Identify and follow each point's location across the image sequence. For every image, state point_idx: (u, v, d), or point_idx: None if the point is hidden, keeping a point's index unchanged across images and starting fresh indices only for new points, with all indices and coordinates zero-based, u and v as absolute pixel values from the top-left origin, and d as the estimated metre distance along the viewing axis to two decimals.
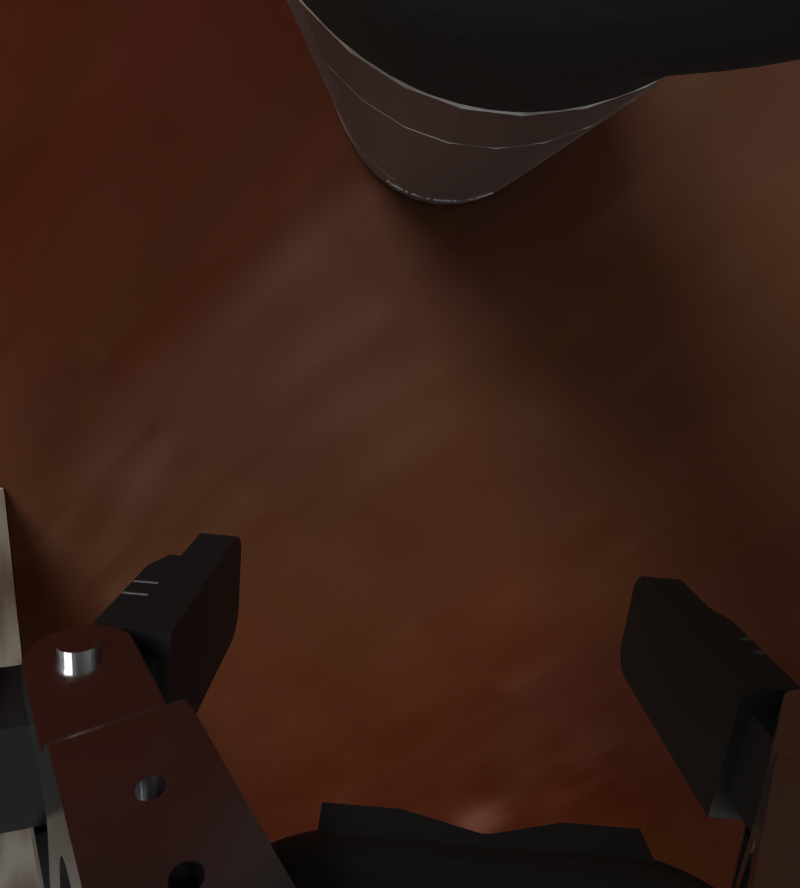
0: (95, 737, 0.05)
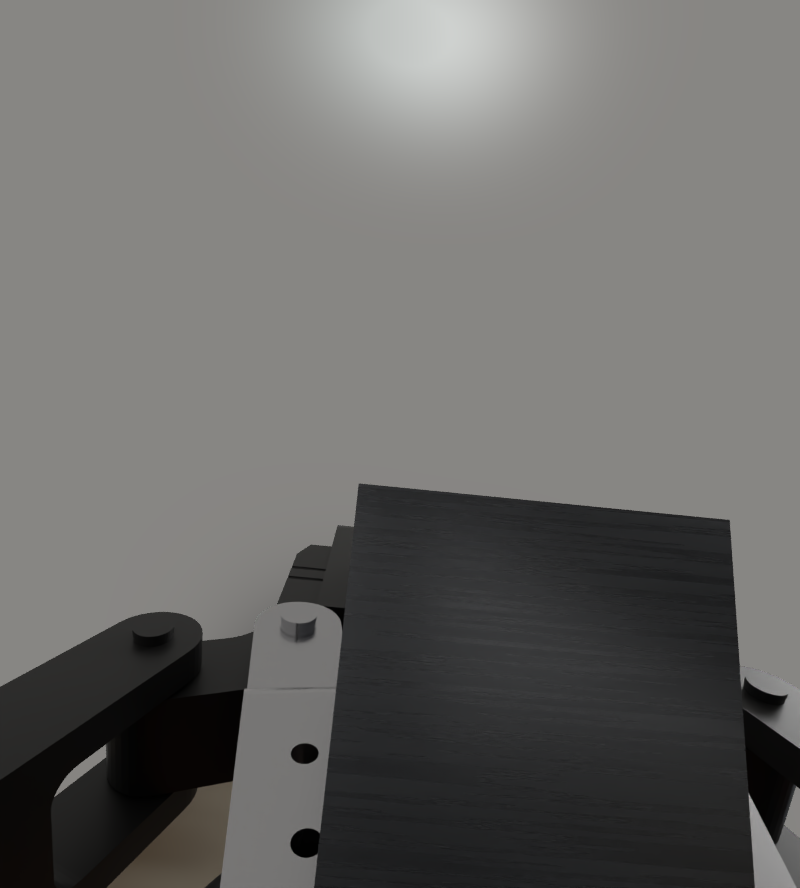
0: (279, 696, 0.06)
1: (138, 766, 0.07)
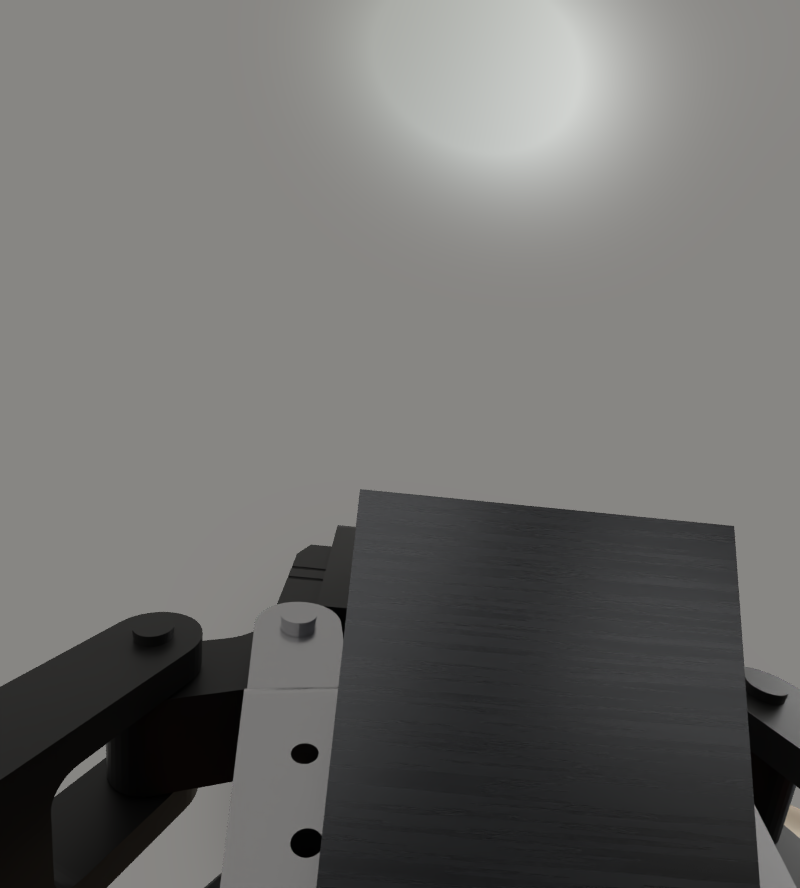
0: (279, 696, 0.06)
1: (138, 766, 0.07)
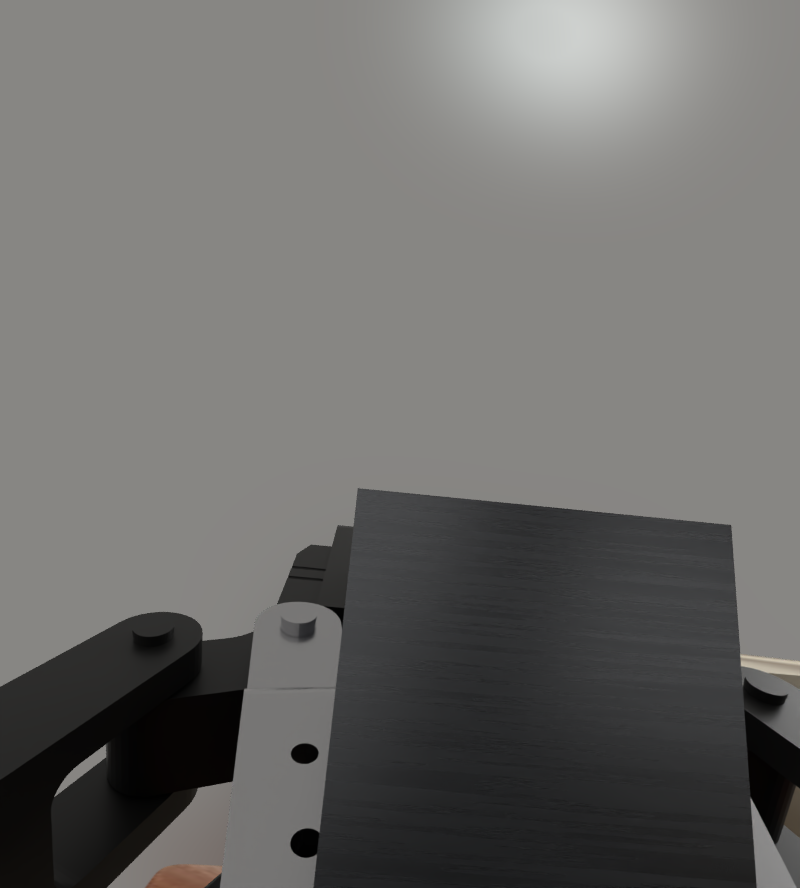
0: (280, 696, 0.06)
1: (138, 766, 0.07)
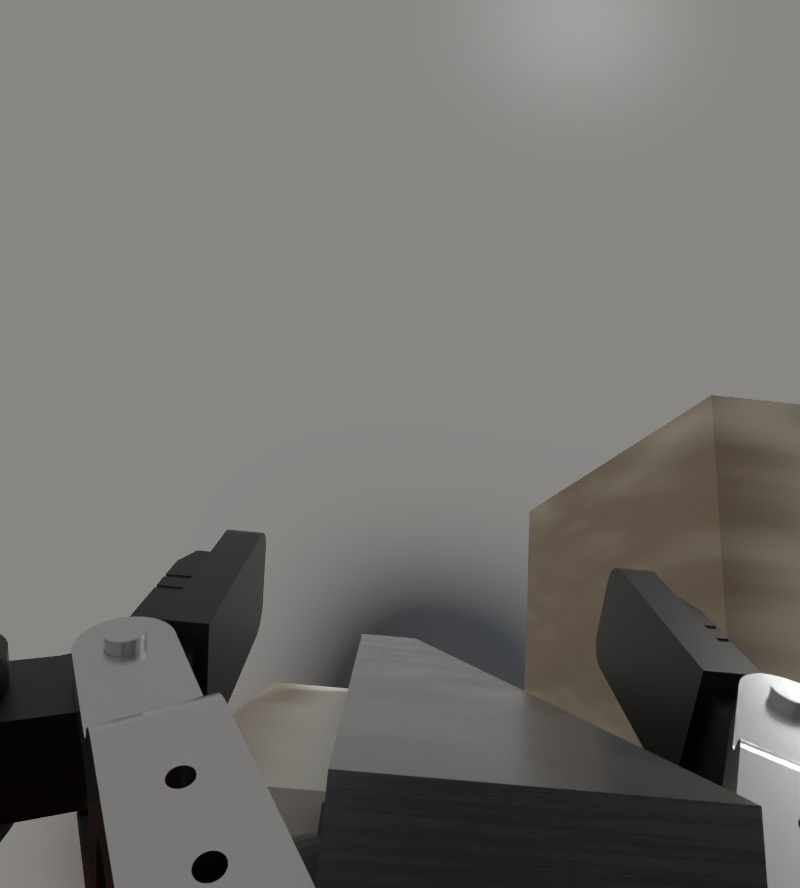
0: (133, 724, 0.06)
1: None
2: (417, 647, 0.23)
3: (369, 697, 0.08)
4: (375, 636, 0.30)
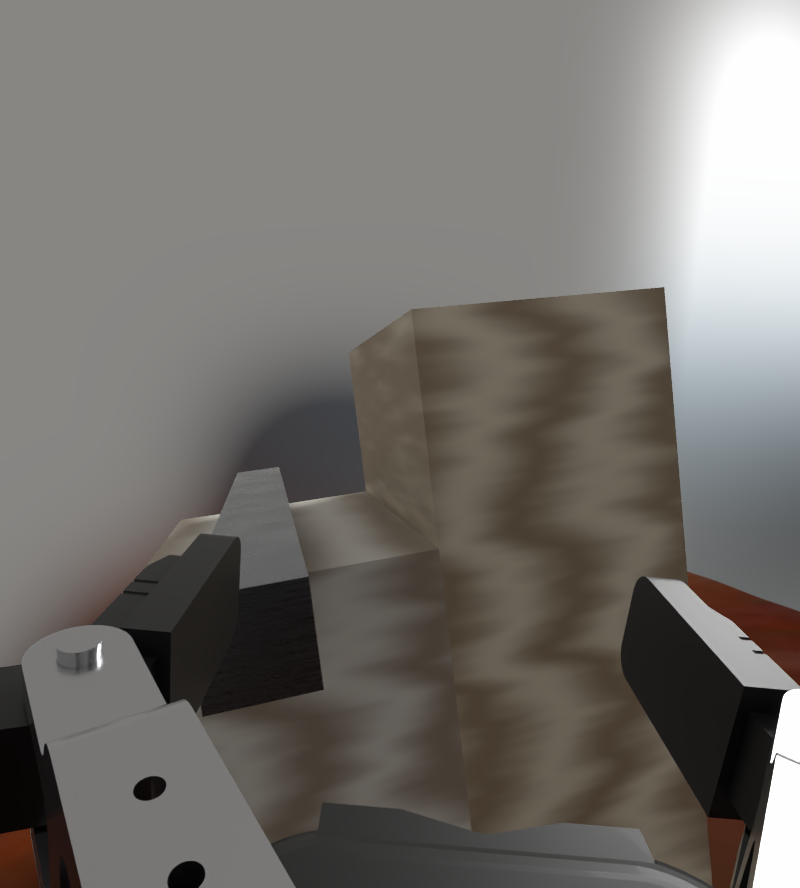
0: (95, 737, 0.05)
1: None
2: (269, 486, 0.34)
3: None
4: (246, 474, 0.41)
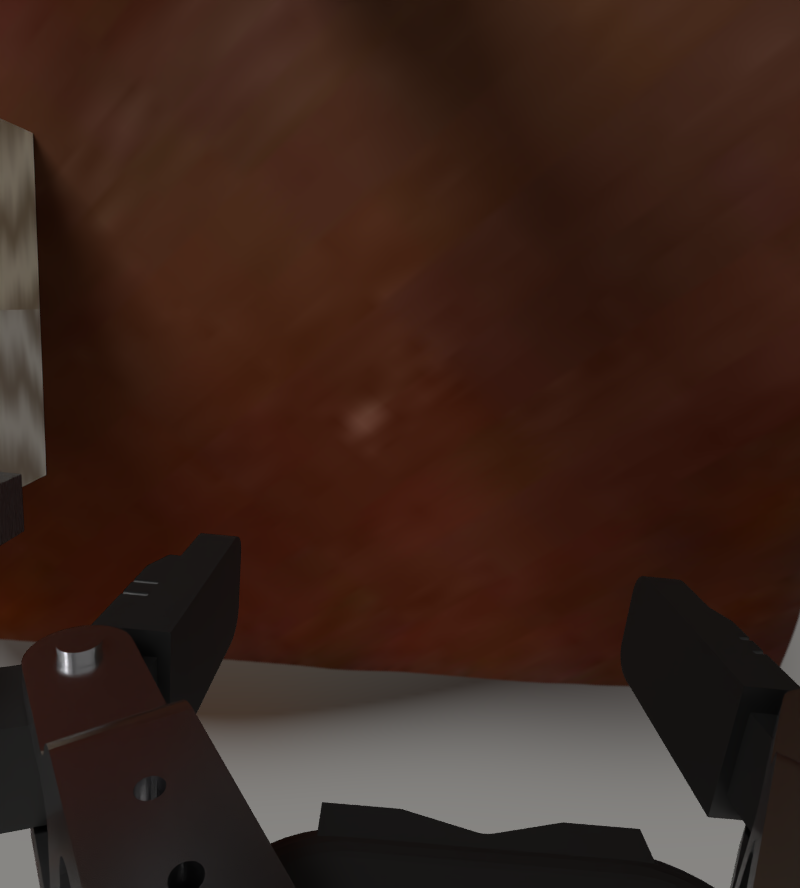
0: (95, 738, 0.05)
1: None
2: None
3: None
4: None
